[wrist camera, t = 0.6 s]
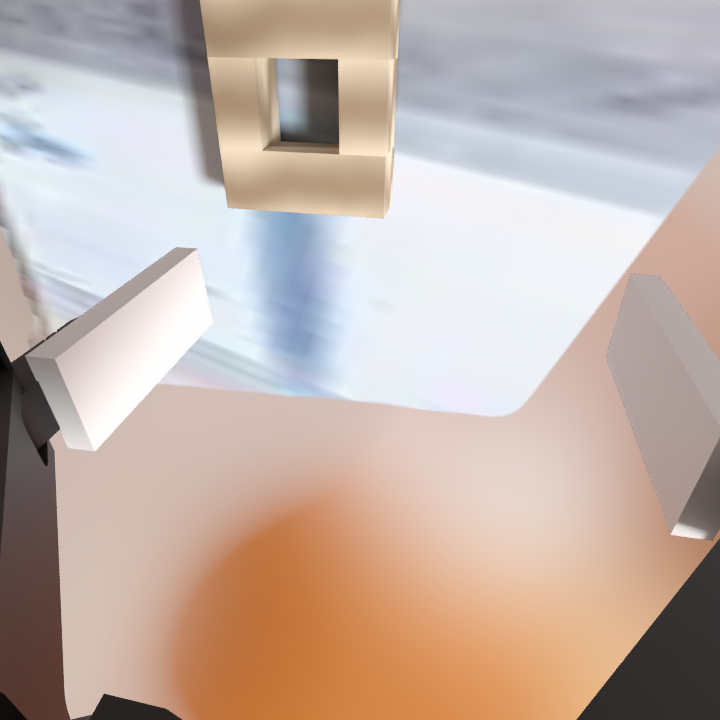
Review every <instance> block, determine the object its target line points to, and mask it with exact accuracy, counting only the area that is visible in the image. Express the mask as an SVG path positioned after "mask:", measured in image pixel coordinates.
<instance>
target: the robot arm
mask: <svg viewBox="0 0 720 720" xmlns="http://www.w3.org/2000/svg"><path fill="white" fill-rule="evenodd" d="M212 323H213V320H212V315H211V311H210V306H209V301H208V297H207V292H206V287H205V283H204V278H203V273H202V268H201V264H200V259H199V254H198V250H197V249H195V248H178V247H176V248H174V249H173V250H172V251H170V252H169V253H167V254H166V255H165V256H163V257H162V258H160V259H159V260H158V261H156V262H155V263H154V264H152V265H151V266H149V267H148V268H147V269H145V270H144V271H142V272H141V273H140V274H138V275H137V276H135V277H134V278H133V279H131V280H130V281H128V282H127V283H126V284H124V285H123V286H122V287H120V288H119V289H117V290H116V291H115V292H113V293H112V294H110V295H109V296H108V297H106V298H105V299H103V300H102V301H101V302H99V303H98V304H96V305H95V306H94V307H92V308H91V309H90V310H88V311H87V312H85V313H84V314H83V315H81V316H80V317H78V318H75V319H73V320H71V321H69V322H68V323H66V324H65V325H64V326H62V327H61V328H59V329H58V330H57V332H54V333H52V334H51V335H50V336H48V337H47V338H46V340H43V341H41V342H40V343H38V344H37V345H36V346H34V347H33V348H31V349H30V350H29V351H27V352H26V353H24V354H23V355H22V356H20V357H19V358H17V359H16V360H15V361H13V362H12V363H11V362H10V360H9V358H8V356H7V354H6V352H5V350H4V348H3V346H2V344H1V342H0V720H70V717H69V714H68V711H67V707H66V702H65V694H64V676H63V675H64V674H63V650H62V626H61V604H60V603H61V601H60V577H59V555H58V529H57V506H56V481H55V457H54V450H53V447H52V445H51V443H50V441H49V439H50V438H51V437H52V436H53V435H54V434H55V433H56V432H57V431H58V430H60V432H61V433H62V436H63V438H64V440H65V442H66V444H67V446H68V448H74V449H80V450H88V451H96V450H97V449H98V448H99V447H100V445H101V444H102V443H103V442H104V441H105V440H106V439H107V438H108V437H109V436H110V434H111V433H112V432H113V431H114V430H115V429H116V428H117V427H118V426H119V425H120V423H121V422H122V421H123V420H124V419H125V418H126V417H127V416H128V415H129V414H130V413H131V412H132V410H133V409H134V408H135V407H136V406H137V405H138V404H139V403H140V402H141V401H142V400H143V398H144V397H145V396H146V395H147V394H148V393H149V392H150V391H151V390H152V388H153V387H154V386H155V385H156V384H157V383H158V382H159V381H160V380H161V379H162V378H163V377H164V375H165V374H166V373H167V372H168V371H169V370H170V369H171V368H172V367H173V366H174V365H175V363H176V362H177V361H178V360H179V359H180V358H181V357H182V356H183V355H184V354H185V353H186V351H187V350H188V349H189V348H190V347H191V346H192V345H193V344H194V343H195V342H196V340H197V339H198V338H199V337H200V336H201V335H202V334H203V333H204V332H205V331H206V330H207V328H208V327H209V326H210V325H211V324H212ZM606 359H607V362H608V365H609V367H610V370H611V373H612V375H613V378H614V381H615V384H616V386H617V389H618V392H619V395H620V397H621V400H622V403H623V406H624V408H625V411H626V414H627V416H628V419H629V422H630V425H631V427H632V430H633V433H634V436H635V438H636V441H637V444H638V447H639V449H640V452H641V455H642V457H643V460H644V463H645V466H646V468H647V471H648V474H649V477H650V479H651V482H652V485H653V487H654V490H655V493H656V496H657V498H658V501H659V504H660V507H661V509H662V512H663V515H664V518H665V520H666V523H667V526H668V528H669V531H670V534H671V535H677V536H684V537H691V538H698V539H705V540H712V541H713V540H714V538H715V536H716V534H717V533H718V531H719V529H720V360H719V359H718V357H717V356H716V354H715V353H714V351H713V350H712V349H711V347H710V346H709V344H708V343H707V341H706V340H705V339H704V337H703V336H702V334H701V333H700V332H699V330H698V329H697V327H696V326H695V324H694V323H693V322H692V320H691V319H690V317H689V316H688V314H687V313H686V312H685V310H684V309H683V308H682V306H681V305H680V303H679V302H678V300H677V299H676V298H675V296H674V295H673V293H672V292H671V290H670V289H669V287H668V286H667V285H666V283H665V282H664V280H663V279H662V278H661V276H659V275H643V274H630V276H629V279H628V283H627V286H626V289H625V293H624V296H623V300H622V303H621V306H620V310H619V313H618V316H617V320H616V323H615V326H614V330H613V333H612V336H611V340H610V343H609V346H608V350H607V353H606ZM72 720H182V719H180V718H179V717H177V716H176V715H174V714H173V713H171V712H170V711H169V710H167V709H165V708H160V707H156V706H152V705H148V704H144V703H140V702H136V701H132V700H128V699H124V698H119V697H115V696H111V695H107V694H104V695H103V697H102V698H101V700H100V702H99V704H98V705H97V707H96V709H95V711H94V712H93V714H92V715H90V716H85V717H81V718H76V719H72ZM577 720H720V539H719V540H718V542H717V543H716V544H715V545H714V547H713V548H712V549H711V550H710V552H709V553H708V554H707V555H706V557H705V558H704V559H703V561H702V562H701V563H700V564H699V566H698V567H697V568H696V569H695V571H694V572H693V573H692V574H691V576H690V577H689V578H688V580H687V581H686V582H685V583H684V585H683V586H682V587H681V588H680V590H679V591H678V592H677V593H676V595H675V596H674V597H673V598H672V600H671V601H670V602H669V603H668V605H667V606H666V607H665V609H664V610H663V611H662V612H661V614H660V615H659V616H658V618H657V619H656V620H655V621H654V623H653V624H652V625H651V626H650V628H649V629H648V630H647V631H646V633H645V634H644V635H643V636H642V638H641V639H640V640H639V641H638V643H637V644H636V645H635V646H634V648H633V649H632V650H631V652H630V653H629V654H628V655H627V657H626V658H625V659H624V661H623V662H622V663H621V664H620V665H619V667H618V668H617V669H616V670H615V672H614V673H613V675H612V676H611V677H610V678H609V679H608V681H607V682H606V683H605V684H604V686H603V687H602V688H601V690H600V691H599V692H598V693H597V695H596V696H595V697H594V698H593V700H592V701H591V702H590V704H589V705H588V706H587V707H586V709H585V710H584V711H583V712H582V713H581V715H580V716H579V717H578V719H577Z"/></svg>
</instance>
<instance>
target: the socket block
mask: <svg viewBox="0 0 720 720" xmlns="http://www.w3.org/2000/svg"><path fill="white" fill-rule="evenodd" d="M200 6H201V13H202V20H203V28H204V35H205V43H206V50H207V57H208V65H209V72H210V80H211V87H212V95H213V102H214V109H215V117H216V124H217V132H218V139H219V146H220V154H221V161H222V169H223V176H224V184H225V191H226V198H227V206H228V208H238V209H253V210H267V211H282V212H297V213H311V214H326V215H340V216H355V217H369V218H384V217H385V215H386V213H387V211H388V209H389V207H390V206H391V204H392V182H393V158H394V134H395V110H396V86H397V62H398V38H399V14H400V0H200ZM275 58H292V59H338V87H339V144H330V143H307V142H284V141H281V135H280V121H279V107H278V94H277V80H276V66H275Z"/></svg>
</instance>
